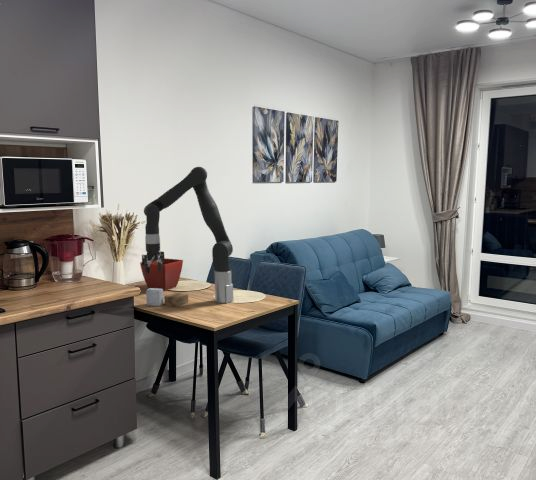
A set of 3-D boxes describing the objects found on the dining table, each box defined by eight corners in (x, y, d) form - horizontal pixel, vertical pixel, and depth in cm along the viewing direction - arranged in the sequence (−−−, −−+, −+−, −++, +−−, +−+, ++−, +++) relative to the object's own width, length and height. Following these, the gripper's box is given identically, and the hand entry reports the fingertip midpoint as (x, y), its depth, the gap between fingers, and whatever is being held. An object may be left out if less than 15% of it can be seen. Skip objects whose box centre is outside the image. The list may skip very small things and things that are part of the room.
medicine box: (163, 304, 264) (163, 288, 263) (159, 306, 260) (159, 290, 259) (150, 303, 266) (150, 287, 265) (146, 305, 262) (145, 289, 261)
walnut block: (188, 303, 266) (188, 294, 266) (177, 307, 259) (177, 298, 258) (175, 301, 271) (175, 292, 270) (164, 305, 263) (164, 296, 262)
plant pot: (160, 283, 315) (159, 257, 313) (184, 286, 306) (183, 259, 304) (140, 289, 298) (139, 262, 296) (165, 292, 289) (164, 264, 287)
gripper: (147, 244, 250) (149, 275, 253) (167, 241, 262) (168, 270, 264) (137, 243, 254) (138, 273, 257) (157, 240, 266) (158, 269, 269)
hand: (153, 272), depth 261 cm, fingers open, 8 cm apart
